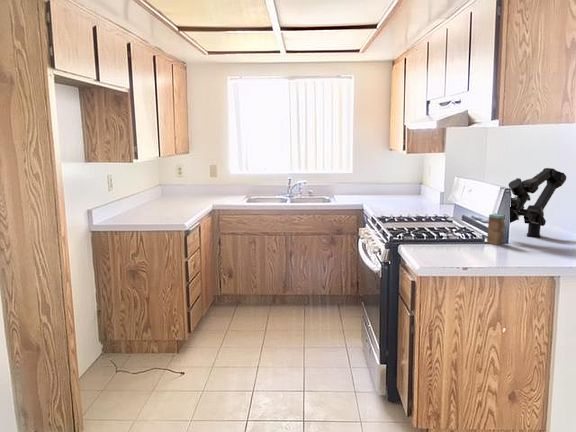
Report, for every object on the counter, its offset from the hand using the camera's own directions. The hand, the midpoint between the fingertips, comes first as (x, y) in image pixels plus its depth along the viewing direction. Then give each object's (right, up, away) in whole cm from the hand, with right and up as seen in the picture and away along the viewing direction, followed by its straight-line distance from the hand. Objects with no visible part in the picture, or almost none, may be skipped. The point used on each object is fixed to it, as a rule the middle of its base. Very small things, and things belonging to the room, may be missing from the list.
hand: (503, 225), depth 245 cm
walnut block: (-5, -9, -2) cm, 10 cm away
